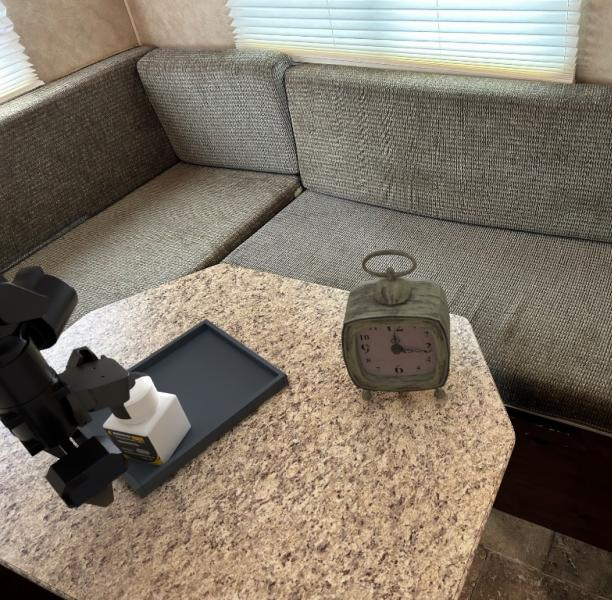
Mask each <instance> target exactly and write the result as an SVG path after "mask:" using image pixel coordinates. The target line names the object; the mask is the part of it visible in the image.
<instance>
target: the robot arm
mask: <svg viewBox="0 0 612 600" xmlns="http://www.w3.org/2000/svg"><path fill="white" fill-rule="evenodd" d="M78 303H79V295H78V293H77V291H76V289H75V288H74V287H73V286H72V285H70V284H69V283H68V282H66V281H64V280H63V279H62V278H60V277H57V276H54V275H52V274H48V273H45V272H44V270H43V268H42V267H41V265H31V266H22V267H20V268H19V269H18V270H17V271H16V273H15V275H14V277H13V280H12V282H10V281H9V280H8V279H7V278H6V277H5V276H4V275H3V274H1V273H0V422H1V423H2V425H3V426H4V427H5V428H6V429H7V430H8V431H9V432H10V434H11V435H12V436H13V437H14V438H16V439H17V440H18V441H19V442H20V443H21V445H22V446H23V447H24V448H25V450H26V451H27V452H28V453H29V455H30V456H31V457H32V458H34V457H35V456H36V455H38V454H40V453H41V452H45V453H47V454H49V455H51V456H53V457H55V458H57V460H56V461H54V462H53V463H52V464H50V465H49V467H48V470H47V472H46V474H45V477H44V478H45V480H46V482H48V483H49V485H50V486H51V488H52V489H53V490H54V491H55V493H56V494H57V495H58V496H59V497H60V499H61V500H62V501H63V503H64V505H66V507H67V508H68V509H77V508H79V507H81V506H82V505H84V504H86V505H91V506H95V507H99V508H105V509H106V508H108V507H109V506H110V505H112V504H113V503H114V502H115V501H116V500H115V493H114V485H113V482H114V481H116V480H117V479H118V478H120V477H121V475H122V474H124V473H125V472H126V471H127V470H128V467H129V463H128V461H127V459H126V458H125V456H124V455H123V453H122V452H121V451H120V450H119V449H118V448H117V447H116V446H115V445H114V443H113V442H112V441H111V440H110V439H109V438H108V437H107V436H106V435H103V436H92V437H91V438H89V439H88V438H87V437H86V436H85V435H84V434H83V433H82V432H81V431H80V430H79V429H78V428H77V427H78V426H80V427H81V428H82V427H84V426H85V425H87V424H88V423H90V422H91V421H93V419H92V418H91V416H90V415H89V413H88V412H96V411H99V410H102V409H105V408H107V407H110V406H113V405H116V404H123V403H125V402H127V401H129V399H130V386H129V372H128V371H127V370H128V369H126V368H125V367H123V365H121V364H120V363H119V362H118V361H117V360H116V359H115V358H112V357H108V356H106V355H105V354H101V355H100V356H99V357H100V358H99V357H98V356H97V355H96V354H95V353H94V351H93V350H92V349H90V347H88V346H87V345H84V346H79V347H76V348H73V349H72V351H71V352H70V355H69V358H68V360H67V362H66V365H65V369H64V370H63V371H62V372H60V373H57V371H56V370H55V369H54V368H53V367H52V366H51V365H50V364H49V363H48V361H47V360H46V358H45V357H44V355H43V354H42V352H41V351H45V350H49V349H51V348H52V347H54V346H55V345H56V344H57V343H58V341H59V339H60V337H61V335H62V334H63V332H64V330H65V329H66V327H67V324H68V323H69V321H70V320H71V317H72V316H73V314H74V312H75V310H76V308H77V306H78ZM71 439H72V440H73V441H72V440H71Z"/></svg>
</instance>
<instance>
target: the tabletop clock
mask: <svg viewBox="0 0 612 600" xmlns="http://www.w3.org/2000/svg"><path fill="white" fill-rule="evenodd" d="M380 256H401V257H405V258H406V259H408V260H410V261H411V262H412V267H410V268H409V269H406V270H403V271H402V270H401V271H395V268H393V267H392V266H389V267H388V266H387V268H386V269H385V272H379V271H373V270H371V269H368V267H367V266H366V264H367V263H368V261H370V260H371V259H373V258H375V257H380ZM417 266H418V262H417V260H416V258H415V257H414V256H413V255H412V254H411V253H409V252H407V251H403V250H402V249H401V250H400V249H381V250H380V249H379V250H375V251H373V252H371V253H369V254H367V255H366V256H365V257H363V260H362V262H361V267H362V270H363V271H364V272H365V273H366V274H368V275H370V276H372V277H375V279H368V280H364V281H361V282H359V283H357V284H356V285H354V286H351V288H350V290H349V293H348V296H347V301H346V302H347V303H346V307H345V313H344V318H343V322H342V326H341V334H340V335H341V336H340V340H341V341H340V343H341V344H340V345H341V352H342V359H343V362H344V365H345V368H346V371H347V375H348V376H349V378H350V380H351V382H352V384H354V386H355V387H356V388H357V389H359V390H363V391H362V392H361V398H362V399H363V400H364V401H370V400H372V398H373V392H383V393H384V392H386V393H409V392H425V391H433V390H434V391H433V396H434V398H435V399H437V400H443V399H444V398H445V397H446V392H445V389H443V387H445V385H446V383H447V382H448V379H449V375H450V370H451V369H450V368H451V316H450V315H451V314H450V308H449V302H448V298H447V296H446V292H445V290H444V289H443V287H442V286H441V284H440V283H438V282H437V281H436V280H432V279H430V278H425V277H405V276H408V275H411V274H412V273H413V272H414V271H416V268H418V267H417ZM376 278H377V279H376Z"/></svg>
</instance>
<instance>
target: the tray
mask: <svg viewBox="0 0 612 600" xmlns="http://www.w3.org/2000/svg"><path fill="white" fill-rule="evenodd" d="M126 370H127V371H128V372H129V373H130V372H142V373H145V374H147V375H148V376H149V377H150V378H151V380H152V382H153V384H154V386H155V388H156V390H157V392H162V393H168V394H173V395H176V397H177V399H178V401H179V403H180V405H181V407H182V409H183V411H184V413H185V415H186V417H187V419H188V421H189V423H190V425H191V428H190V429H189V431H188V432H187V434H186V435H185V437H184V438H183V440H182V441H181V443H180V444H179V445H178V447H177V448H176V450H175V451H174V453H173V454H172V456H171V457H170V459H169V460H168V461H166V462H165V463H164V464H163V465H161V466H159V465H155V464H151V463H146V462H142V461H138V460H133V459H129V458H126V459H127V461H128V463H129V467H128V470H127V471H126V472H125V473H124V474H122V475H121V476H120V477H121V478H122V479H123V480H124V481H125V482H126V483H127V485H129V487H130V488H131V489H132V490H133V491H134V492H135V493H136V494H137V496H138V497H139V498H140V499H144V498H145V497H147V496H148V495H149V494H150V493H151V492H153V491H154V490H155V489H156V488H158V487H159V486H160V485H161V484H163V483H164V482H165V481H167V480H168V479H169V478H170V477H172V476H173V475H175V473H177V472H178V471H180V470H181V469H182V468H183V467H185V466H186V465H187V464H188V463H190V462H191V461H193V460H194V459H195V458H196V457H198V456H199V455H200V454H201V453H202V452H204V451H205V450H207V449H208V448H209V447H210V446H211V445H213V444H214V443H215V442H216V441H218V440H219V439H220V438H221V437H223V436H224V435H226V433H228V432H229V431H230V430H232V429H233V428H234V427H236V426H237V425H238V424H239V423H240V422H242V421H243V420H244V419H245V418H247V417H248V416H249V415H251V414H252V413H253V412H254V411H256V410H257V409H258V408H259V407H261V406H262V405H263V404H265V403H266V402H267V401H269V400H270V399H272V398H273V396H275V395H276V394H277V393H279V392H280V391H281V390H283V389H284V388H286V386H287V385H289V384H290V381H289V377H288V375H287V373H285V372H284V371H283V370H281V369H280V368H279V367H277V366H275V365H274V364H273V363H271V361H268V360H267V359H265V358H264V357H262V356H261V355H260V354H258V353H257V352H255V351H254V350H253V349H252V348H250V347H248V346H246V344H244V343H242V342H241V341H240V340H238V339H236V338H235V337H233V336H232V335H230V334H229V333H228V332H226V331H225V330H223V328H220V327H219V326H217V325H216V324H215V323H214V322H212V321H210V320H209V319H207V318H205V319H204V320H202V321H200V322H199V323H197V324H195V325H194V326H192V327H191V328H189V329H188V330H187V331H185V332H183V333H181V334H180V335H178V336H177V337H175V338H174V339H173V340H171V341H169V342H167V343H166V344H164V345H163V346H162V347H160V348H158V349H156V351H154V352H152V353H151V354H148V355H147V356H146V357H144V358H143V359H142V360H140V361H138V362H137V363H135V364H133V365H132V366H131V367H129V368H128V369H126ZM88 413H89V415H90V416H91V418H92V419H93V421H91V422H90V423H88V424H87V425H85V426H84V427H82V428H81V427H80V426H78V427H77V428H78V429H79V430H80V431H81V432H82V433H83V434H84V435H85V436H86V437H87V438H88V439H89V438H91V437H92V436H103V435H106V436H107V437H108V438H109V439H110V437H109V435H108V434H107V432H106V431H105V429H104V428H103V424H104V423H105V422H106V421H107V419H108V418H109V417H110V416H111V415H112V412H111V410H110V408H109V407H107V408H105V409H102V410H99V411H96V412H88ZM110 440H111V439H110ZM111 441H112V440H111Z"/></svg>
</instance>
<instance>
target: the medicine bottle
mask: <svg viewBox="0 0 612 600" xmlns="http://www.w3.org/2000/svg"><path fill="white" fill-rule="evenodd" d="M129 386H130V399H129V401H127V402H125V403H123V404H116V405H113V406H110V407H109V408H110V410H111V412H112V415H111V416H110V417H109V418H108V419H107V421H106V422H105V423H104V424H103V428H104V429H105V431H106V432H107V434H108V435H109V437H110V439H111V440H112V442H113V443H114V445H115V446H116V447H117V448H118V449H119V450H120V451H121V452H122V453H123V455H124V456H125V458H129V459H133V460H138V461H142V462H146V463H151V464H155V465H159V466H161V465H163V464H164V463H165V462H166V461H168V460H169V459H170V457H171V456H172V454H173V453H174V451H175V450H176V448H177V447H178V445H179V444H180V443H181V441H182V440H183V438H184V437H185V435H186V434H187V432H188V431H189V429H190V428H191V425H190V423H189V421H188V419H187V417H186V415H185V413H184V411H183V409H182V407H181V405H180V403H179V401H178V399H177V397H176V395H173V394H168V393H162V392H157V390H156V388H155V386H154V384H153V382H152V380H151V378H150V377H149V376H148V375H147V374H145V373H142V372H130V373H129Z"/></svg>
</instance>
